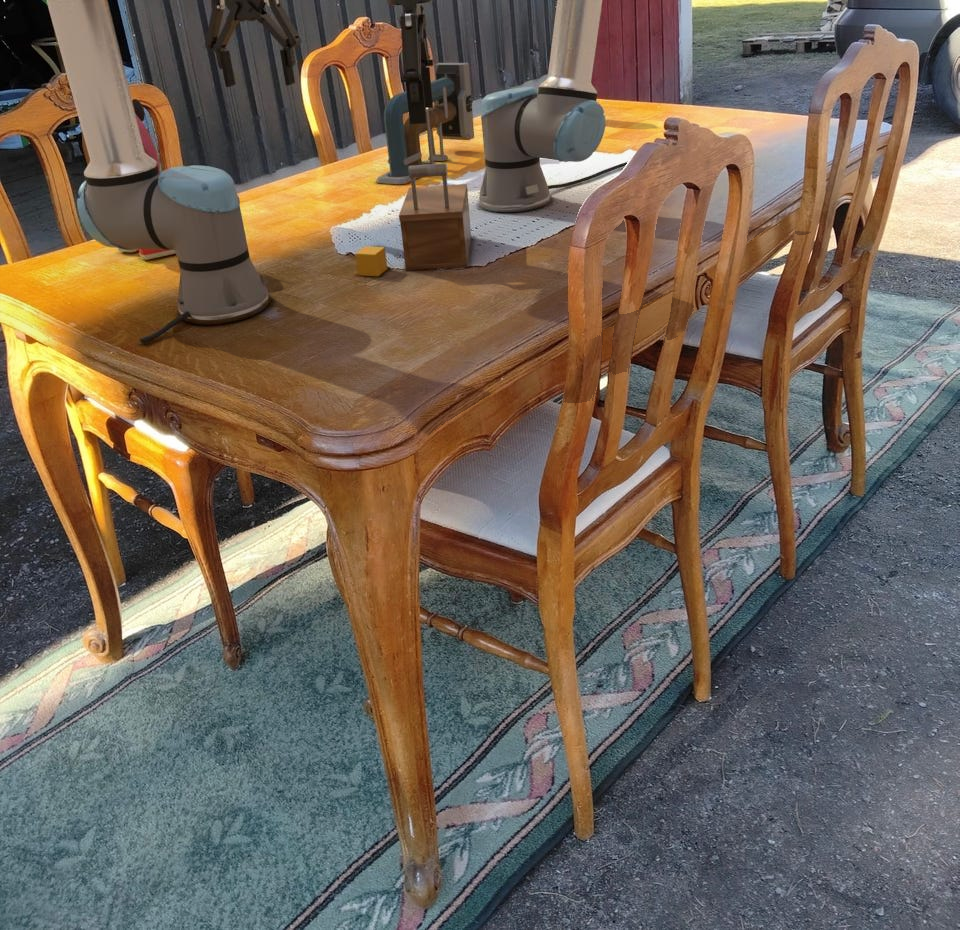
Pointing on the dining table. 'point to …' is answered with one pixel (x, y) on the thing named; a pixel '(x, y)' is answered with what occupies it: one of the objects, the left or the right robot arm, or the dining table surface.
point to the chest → (437, 242)
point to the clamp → (428, 122)
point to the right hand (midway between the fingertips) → (421, 115)
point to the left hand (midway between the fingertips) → (260, 85)
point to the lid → (432, 196)
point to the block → (371, 261)
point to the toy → (152, 152)
